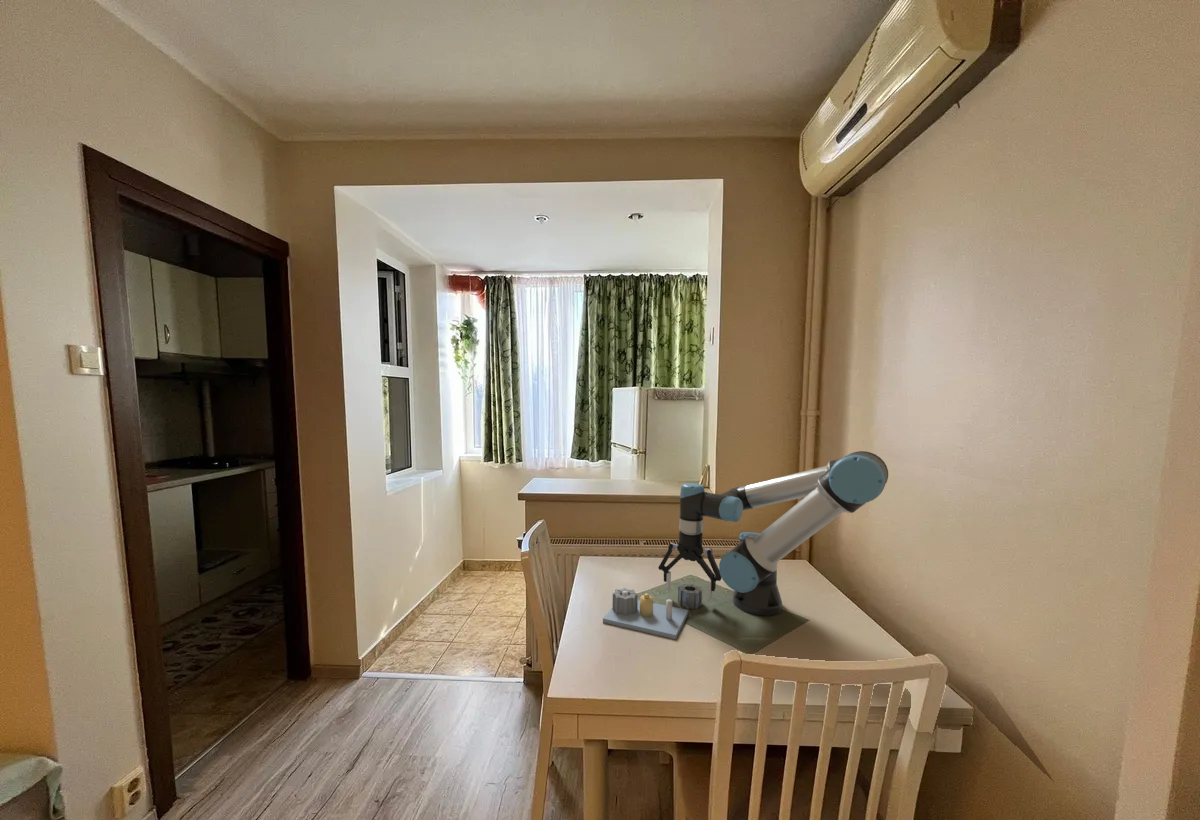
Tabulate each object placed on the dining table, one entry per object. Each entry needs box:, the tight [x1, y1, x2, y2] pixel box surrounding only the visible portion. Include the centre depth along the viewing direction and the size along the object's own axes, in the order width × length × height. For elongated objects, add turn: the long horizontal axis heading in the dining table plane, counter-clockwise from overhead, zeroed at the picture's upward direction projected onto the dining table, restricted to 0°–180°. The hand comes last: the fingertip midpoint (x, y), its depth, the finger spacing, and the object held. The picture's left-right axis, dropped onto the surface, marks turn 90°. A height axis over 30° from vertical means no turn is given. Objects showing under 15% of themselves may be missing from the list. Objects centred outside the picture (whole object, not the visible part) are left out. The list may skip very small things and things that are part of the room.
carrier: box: [602, 587, 689, 640], centre depth 133 cm, size 22×16×7 cm
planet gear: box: [677, 583, 703, 610], centre depth 142 cm, size 8×8×5 cm
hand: (688, 595), depth 143 cm, fingers open, 13 cm apart
